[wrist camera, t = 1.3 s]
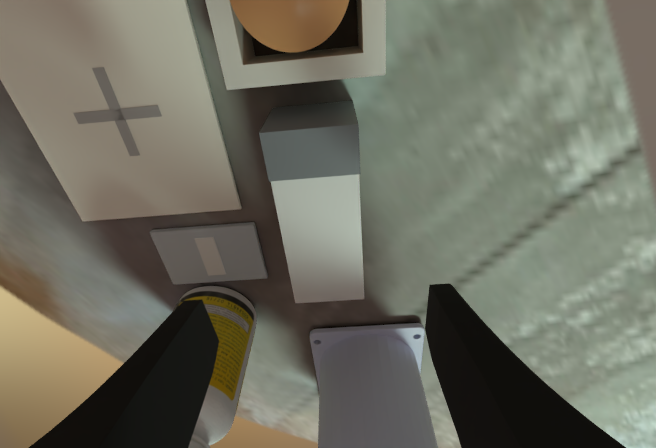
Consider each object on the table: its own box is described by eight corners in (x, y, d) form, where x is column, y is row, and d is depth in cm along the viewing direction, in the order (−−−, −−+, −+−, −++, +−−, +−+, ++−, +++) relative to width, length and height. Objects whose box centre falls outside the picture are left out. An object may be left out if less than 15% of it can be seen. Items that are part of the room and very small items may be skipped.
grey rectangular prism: (359, 255, 20) (365, 300, 17) (299, 259, 21) (294, 305, 17) (352, 100, 15) (358, 124, 12) (272, 107, 16) (259, 133, 13)
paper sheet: (241, 207, 18) (240, 209, 18) (84, 219, 19) (82, 222, 19) (173, -48, 12) (171, -49, 12) (-53, -21, 13) (-60, -21, 13)
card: (267, 275, 21) (266, 279, 21) (175, 281, 21) (172, 285, 21) (254, 222, 19) (253, 225, 19) (151, 229, 19) (148, 233, 19)
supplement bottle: (170, 280, 21) (72, 451, 13) (255, 284, 22) (210, 454, 13) (185, 335, 24) (112, 503, 16) (260, 338, 25) (226, 506, 16)
